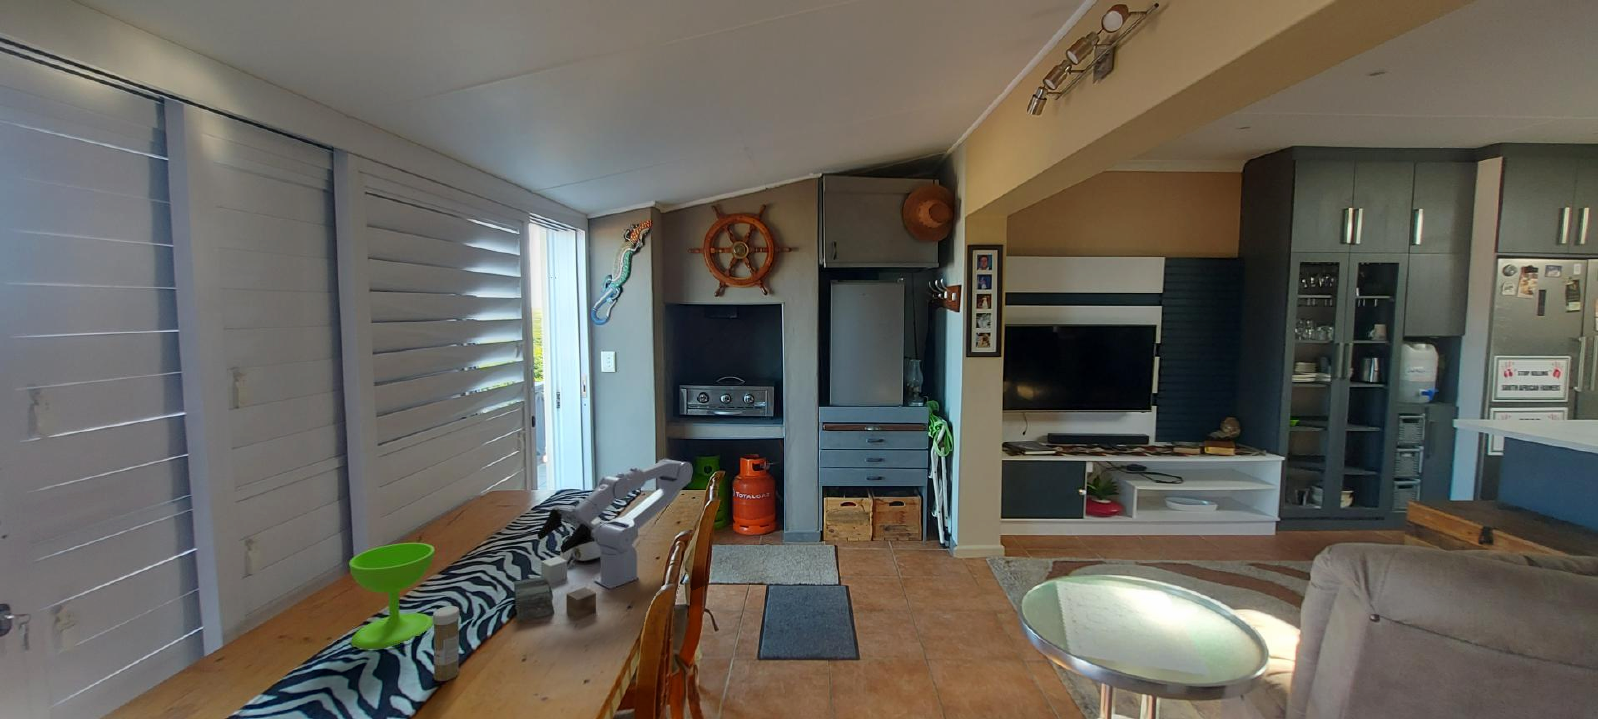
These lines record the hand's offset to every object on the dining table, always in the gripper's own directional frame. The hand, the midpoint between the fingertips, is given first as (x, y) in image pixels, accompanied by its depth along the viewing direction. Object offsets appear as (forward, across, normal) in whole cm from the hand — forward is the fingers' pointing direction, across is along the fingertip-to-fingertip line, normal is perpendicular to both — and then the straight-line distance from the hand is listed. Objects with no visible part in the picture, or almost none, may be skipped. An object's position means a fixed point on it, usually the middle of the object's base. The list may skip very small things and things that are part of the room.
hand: (550, 543), depth 147 cm
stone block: (+7, 0, +17) cm, 19 cm away
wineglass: (+30, -18, +12) cm, 37 cm away
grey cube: (-5, -8, +25) cm, 27 cm away
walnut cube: (+4, +12, +14) cm, 19 cm away
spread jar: (-17, -10, +31) cm, 37 cm away
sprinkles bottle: (+33, +7, +2) cm, 34 cm away
